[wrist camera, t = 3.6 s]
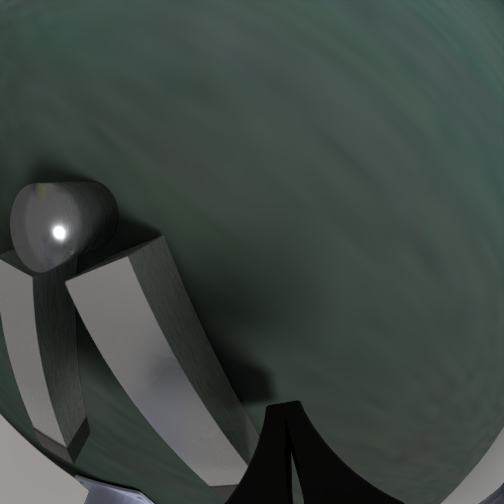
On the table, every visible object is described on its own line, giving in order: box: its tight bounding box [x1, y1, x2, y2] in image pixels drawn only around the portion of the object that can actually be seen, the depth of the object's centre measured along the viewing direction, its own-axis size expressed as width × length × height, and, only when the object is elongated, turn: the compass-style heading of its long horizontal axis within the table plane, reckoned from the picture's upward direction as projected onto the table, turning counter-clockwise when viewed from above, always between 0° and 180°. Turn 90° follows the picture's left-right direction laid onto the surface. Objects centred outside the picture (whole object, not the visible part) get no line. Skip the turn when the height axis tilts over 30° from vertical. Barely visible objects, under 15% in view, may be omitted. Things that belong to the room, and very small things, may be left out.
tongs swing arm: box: [65, 235, 260, 501], centre depth 9 cm, size 13×2×3 cm, turn 19°
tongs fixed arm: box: [0, 182, 118, 464], centre depth 9 cm, size 16×4×3 cm, turn 163°
